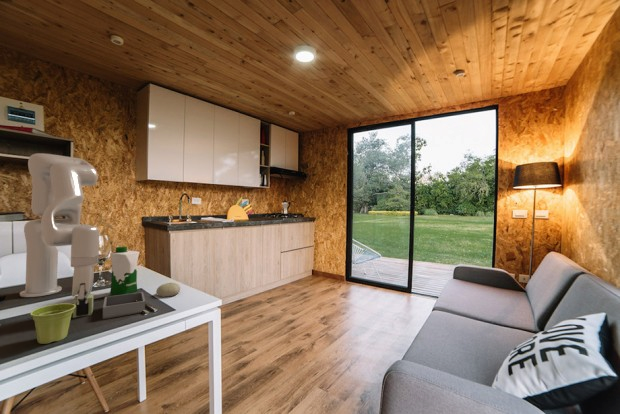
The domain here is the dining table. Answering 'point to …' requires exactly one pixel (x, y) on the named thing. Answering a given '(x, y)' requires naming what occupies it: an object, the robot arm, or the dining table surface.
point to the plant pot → (52, 322)
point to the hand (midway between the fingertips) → (83, 311)
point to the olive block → (90, 301)
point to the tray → (123, 305)
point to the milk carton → (124, 271)
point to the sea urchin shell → (168, 289)
